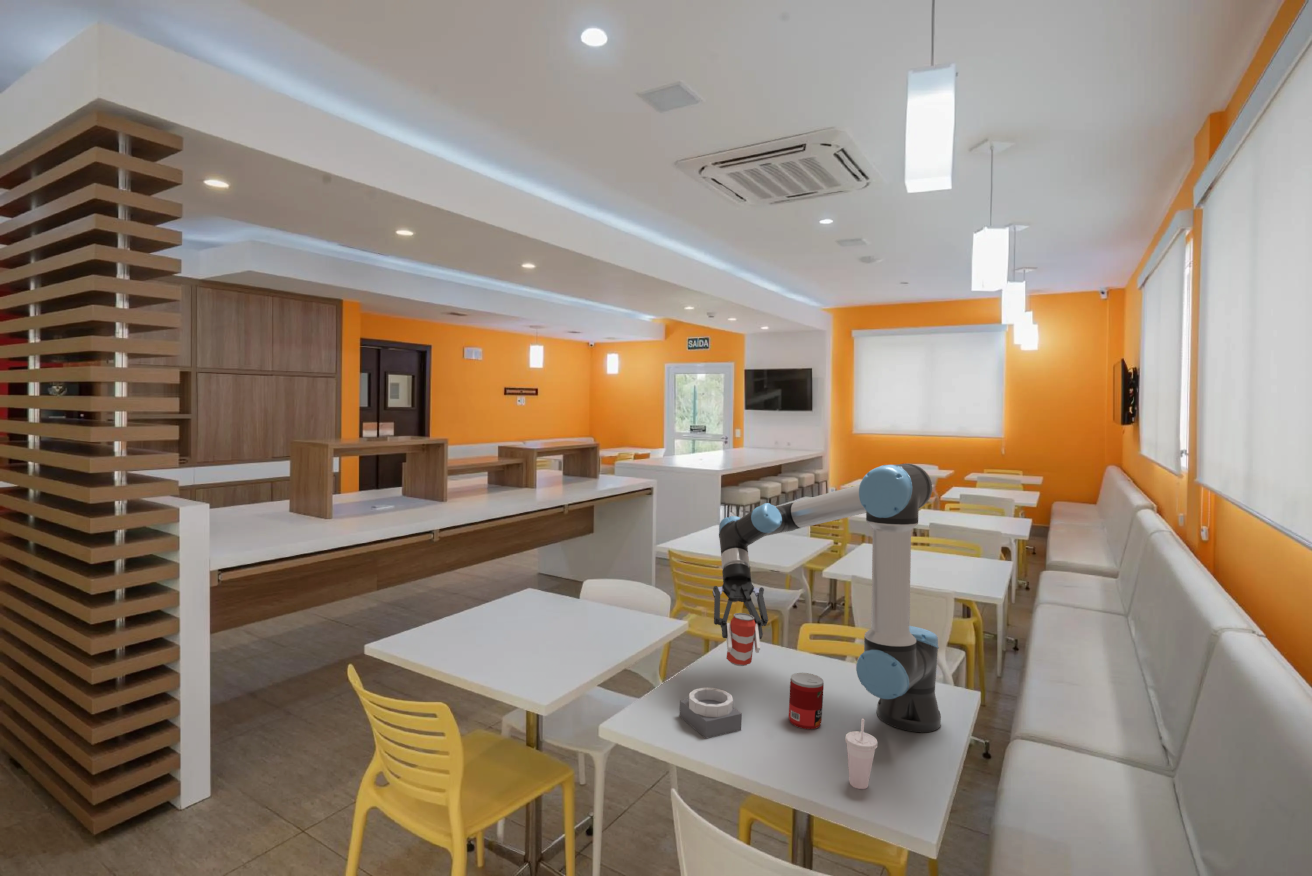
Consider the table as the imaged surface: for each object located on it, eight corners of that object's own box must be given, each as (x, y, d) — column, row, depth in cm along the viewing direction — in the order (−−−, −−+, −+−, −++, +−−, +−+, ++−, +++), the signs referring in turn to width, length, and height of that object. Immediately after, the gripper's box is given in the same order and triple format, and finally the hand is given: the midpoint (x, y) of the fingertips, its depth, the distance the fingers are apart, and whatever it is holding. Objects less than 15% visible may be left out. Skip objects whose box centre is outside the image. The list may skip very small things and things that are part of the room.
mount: (741, 730, 161) (743, 703, 161) (704, 738, 156) (706, 711, 156) (714, 709, 172) (715, 683, 171) (678, 716, 167) (679, 690, 166)
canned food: (822, 731, 162) (824, 686, 161) (788, 727, 164) (790, 682, 163) (820, 717, 170) (823, 674, 169) (788, 713, 171) (790, 670, 171)
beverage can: (732, 667, 168) (737, 620, 167) (723, 657, 174) (728, 612, 174) (754, 667, 170) (760, 620, 169) (744, 657, 176) (749, 612, 175)
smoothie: (844, 790, 137) (848, 723, 137) (841, 773, 144) (844, 709, 143) (877, 794, 136) (881, 727, 136) (872, 777, 143) (876, 712, 142)
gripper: (768, 577, 187) (779, 657, 172) (699, 575, 186) (703, 655, 171) (773, 562, 182) (785, 644, 166) (702, 560, 181) (707, 642, 165)
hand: (743, 650), depth 169 cm, fingers closed on beverage can, 6 cm apart
